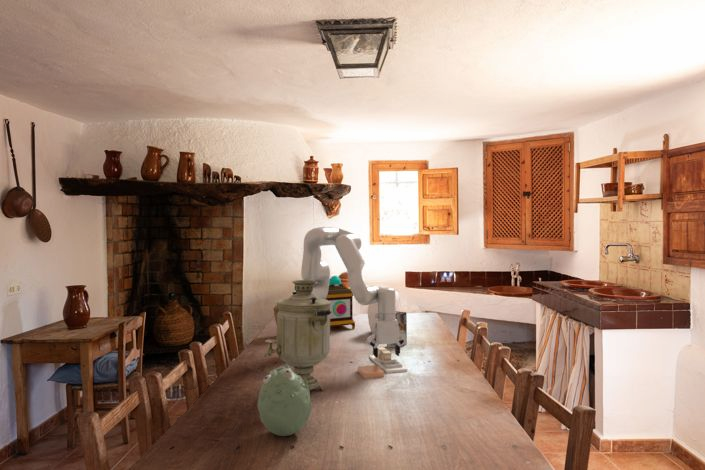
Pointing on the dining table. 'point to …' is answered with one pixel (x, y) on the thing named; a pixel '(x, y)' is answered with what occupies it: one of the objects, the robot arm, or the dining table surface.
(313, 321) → the samovar
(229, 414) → the dining table surface
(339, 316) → the decorative lantern
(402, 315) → the coffee box
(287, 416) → the pale green egg shape
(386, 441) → the dining table surface
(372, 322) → the white faceted vase
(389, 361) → the turner
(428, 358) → the dining table surface
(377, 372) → the tile
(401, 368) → the board
